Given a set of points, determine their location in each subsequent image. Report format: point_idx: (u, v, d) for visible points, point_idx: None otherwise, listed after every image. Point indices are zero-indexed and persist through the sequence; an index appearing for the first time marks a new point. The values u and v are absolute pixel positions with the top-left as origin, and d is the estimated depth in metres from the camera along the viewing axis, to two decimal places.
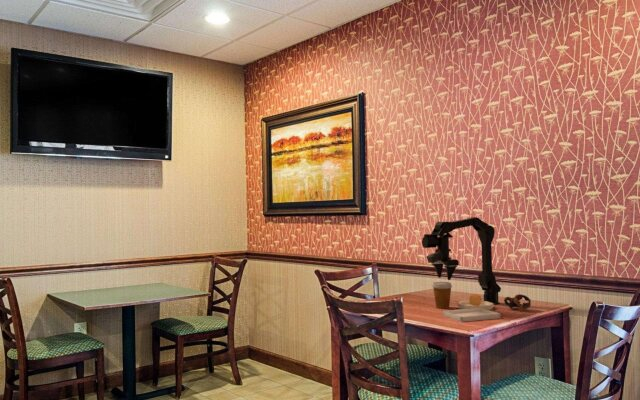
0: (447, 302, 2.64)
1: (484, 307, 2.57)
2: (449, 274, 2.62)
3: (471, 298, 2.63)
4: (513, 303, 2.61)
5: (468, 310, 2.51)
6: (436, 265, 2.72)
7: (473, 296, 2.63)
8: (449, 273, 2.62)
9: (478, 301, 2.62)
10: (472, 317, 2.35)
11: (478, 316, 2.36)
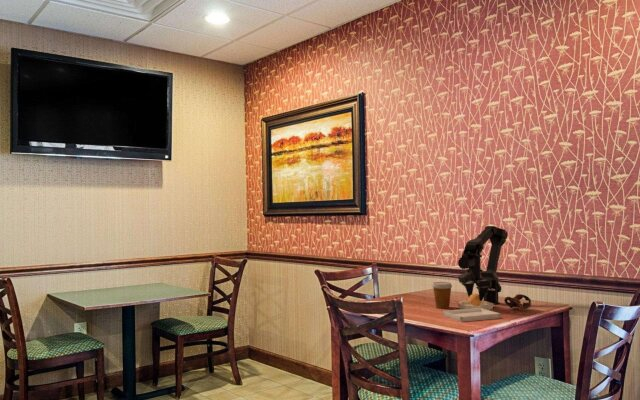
0: (447, 302, 2.64)
1: (484, 307, 2.57)
2: (481, 295, 2.60)
3: (471, 298, 2.63)
4: (513, 303, 2.61)
5: (468, 310, 2.51)
6: (467, 285, 2.69)
7: (473, 296, 2.63)
8: (481, 294, 2.59)
9: (478, 301, 2.62)
10: (472, 317, 2.35)
11: (478, 316, 2.36)
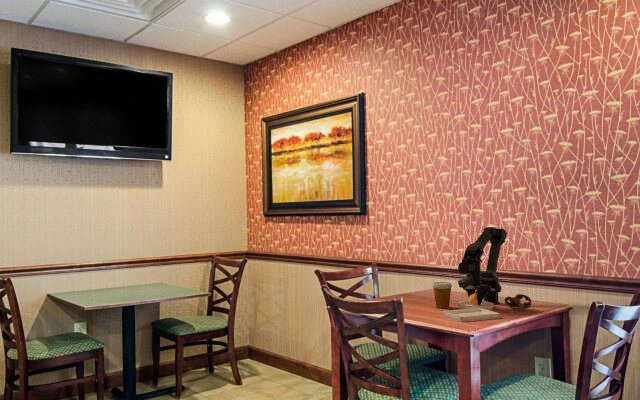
0: (447, 302, 2.64)
1: (484, 307, 2.57)
2: (479, 299, 2.61)
3: (471, 298, 2.63)
4: (513, 303, 2.62)
5: (468, 310, 2.51)
6: (468, 290, 2.68)
7: (473, 296, 2.63)
8: (479, 298, 2.61)
9: None
10: (472, 317, 2.35)
11: (478, 316, 2.36)
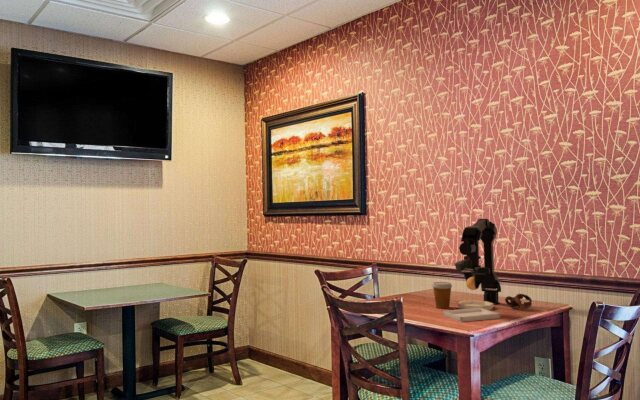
0: (447, 302, 2.64)
1: (484, 307, 2.57)
2: (477, 282, 2.47)
3: (468, 281, 2.50)
4: (514, 302, 2.63)
5: (468, 310, 2.51)
6: (466, 273, 2.54)
7: (470, 279, 2.50)
8: (477, 281, 2.47)
9: None
10: (472, 317, 2.35)
11: (478, 316, 2.36)
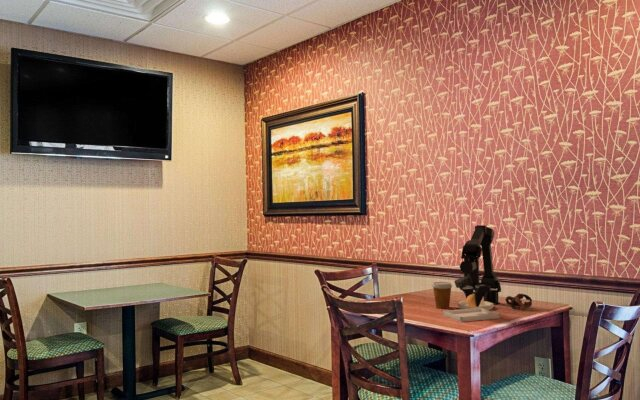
0: (447, 302, 2.64)
1: (484, 307, 2.57)
2: (478, 300, 2.42)
3: (469, 299, 2.45)
4: (514, 302, 2.63)
5: (468, 310, 2.51)
6: (466, 290, 2.49)
7: (471, 297, 2.45)
8: (477, 299, 2.42)
9: None
10: (472, 317, 2.35)
11: (478, 316, 2.36)
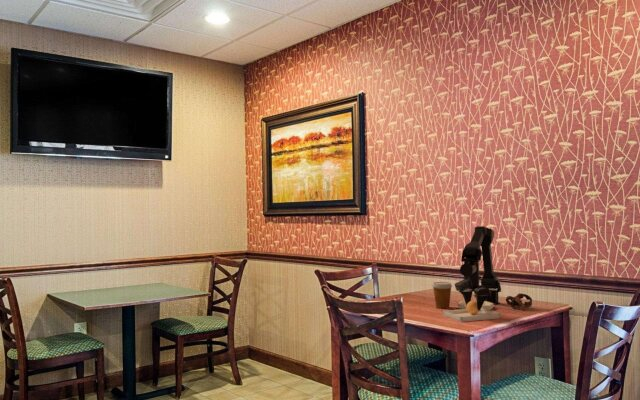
0: (447, 302, 2.64)
1: (484, 307, 2.57)
2: (479, 304, 2.41)
3: (469, 306, 2.45)
4: (514, 302, 2.64)
5: None
6: (464, 293, 2.50)
7: (471, 303, 2.44)
8: (479, 303, 2.41)
9: (476, 309, 2.43)
10: (472, 317, 2.35)
11: (478, 316, 2.36)
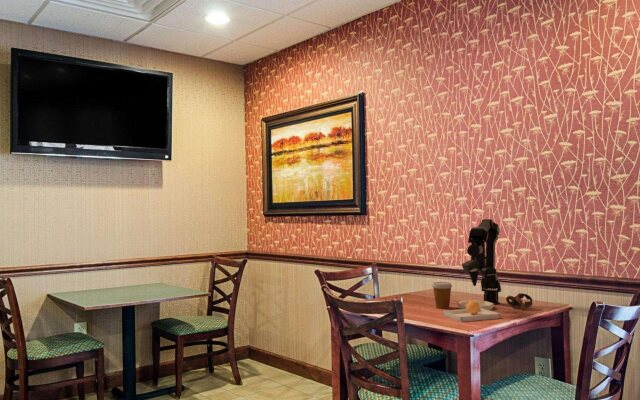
0: (447, 302, 2.64)
1: (484, 307, 2.57)
2: (486, 283, 2.51)
3: (469, 305, 2.45)
4: (515, 302, 2.64)
5: None
6: (471, 273, 2.61)
7: (471, 303, 2.45)
8: (486, 282, 2.51)
9: (476, 309, 2.43)
10: (472, 317, 2.35)
11: (478, 316, 2.36)
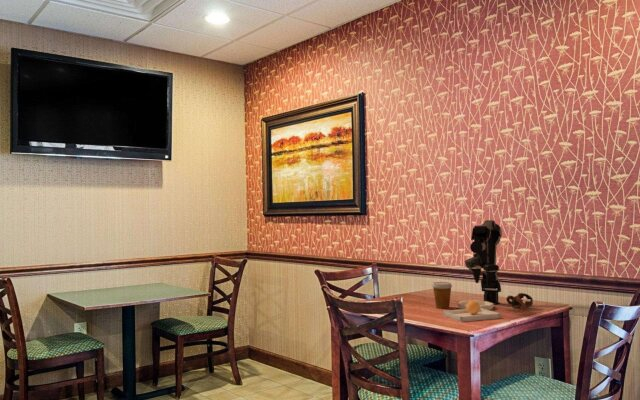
0: (447, 302, 2.64)
1: (484, 307, 2.57)
2: (488, 279, 2.55)
3: (469, 305, 2.45)
4: (515, 302, 2.65)
5: None
6: (474, 270, 2.65)
7: (471, 303, 2.45)
8: (488, 278, 2.55)
9: (476, 308, 2.43)
10: (472, 317, 2.35)
11: (478, 316, 2.36)
